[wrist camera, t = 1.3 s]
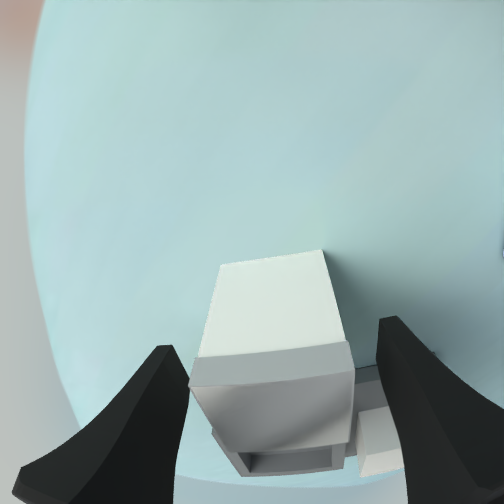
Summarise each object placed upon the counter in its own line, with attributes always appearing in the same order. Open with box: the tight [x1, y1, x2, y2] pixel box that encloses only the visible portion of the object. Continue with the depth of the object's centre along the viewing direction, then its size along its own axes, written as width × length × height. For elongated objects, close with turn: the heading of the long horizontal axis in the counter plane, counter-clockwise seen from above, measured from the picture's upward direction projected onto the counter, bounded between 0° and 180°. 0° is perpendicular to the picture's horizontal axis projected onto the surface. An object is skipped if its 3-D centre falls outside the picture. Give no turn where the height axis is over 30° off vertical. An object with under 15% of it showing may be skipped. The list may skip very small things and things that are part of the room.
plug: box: [188, 249, 355, 453], centre depth 11 cm, size 4×4×6 cm
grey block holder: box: [212, 352, 436, 478], centre depth 16 cm, size 13×10×4 cm
